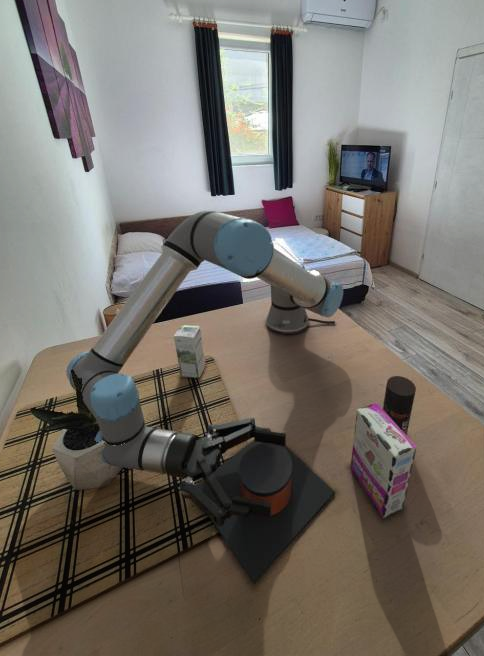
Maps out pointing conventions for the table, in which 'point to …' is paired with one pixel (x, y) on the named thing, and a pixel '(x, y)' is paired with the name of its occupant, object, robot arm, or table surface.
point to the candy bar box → (382, 458)
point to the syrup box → (189, 351)
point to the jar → (267, 475)
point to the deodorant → (399, 401)
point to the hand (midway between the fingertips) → (278, 471)
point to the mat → (277, 530)
